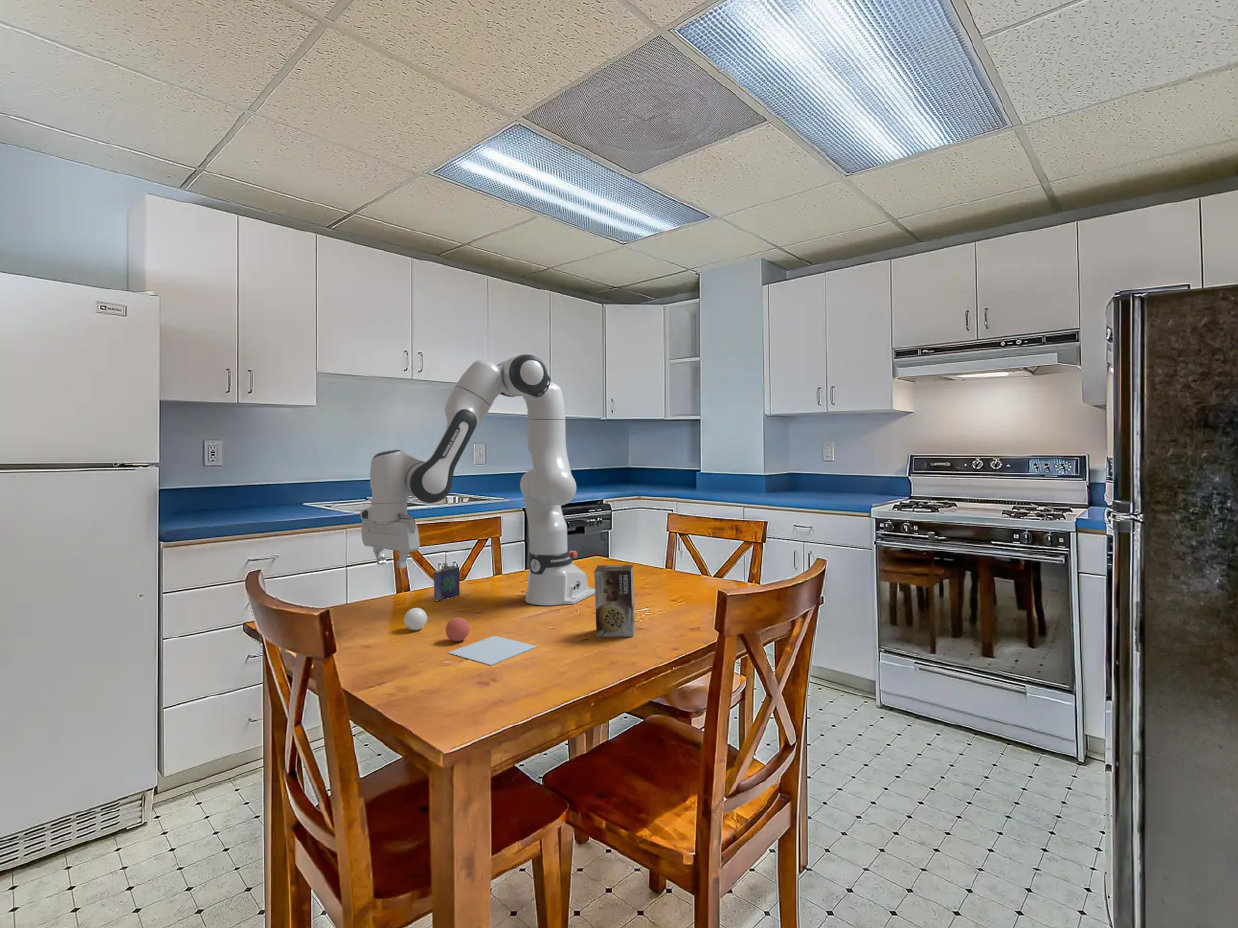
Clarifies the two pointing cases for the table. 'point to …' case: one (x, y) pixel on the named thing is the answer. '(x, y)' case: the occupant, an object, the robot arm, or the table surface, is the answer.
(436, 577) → the flask
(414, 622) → the cue ball
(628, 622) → the coffee box
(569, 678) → the table surface
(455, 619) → the object ball
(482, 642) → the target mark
